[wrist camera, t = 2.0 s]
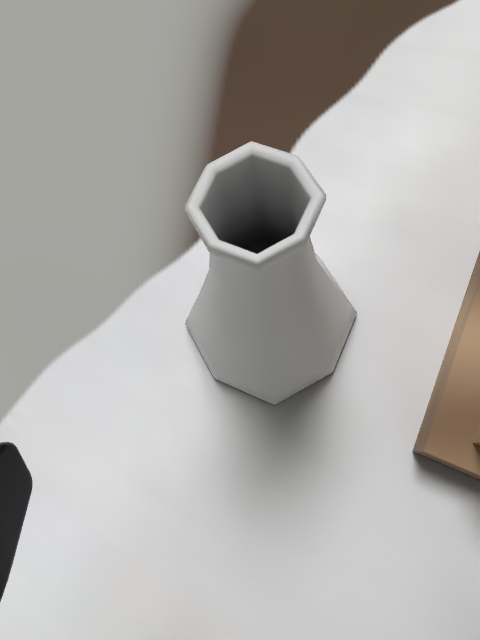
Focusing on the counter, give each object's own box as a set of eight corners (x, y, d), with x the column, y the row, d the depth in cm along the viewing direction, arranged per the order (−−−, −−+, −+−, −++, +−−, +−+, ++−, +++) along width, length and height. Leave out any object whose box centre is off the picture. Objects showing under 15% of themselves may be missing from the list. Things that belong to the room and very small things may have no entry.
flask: (385, 312, 20) (478, 180, 10) (276, 436, 19) (265, 420, 9) (264, 219, 22) (245, 34, 12) (159, 326, 20) (47, 217, 11)
